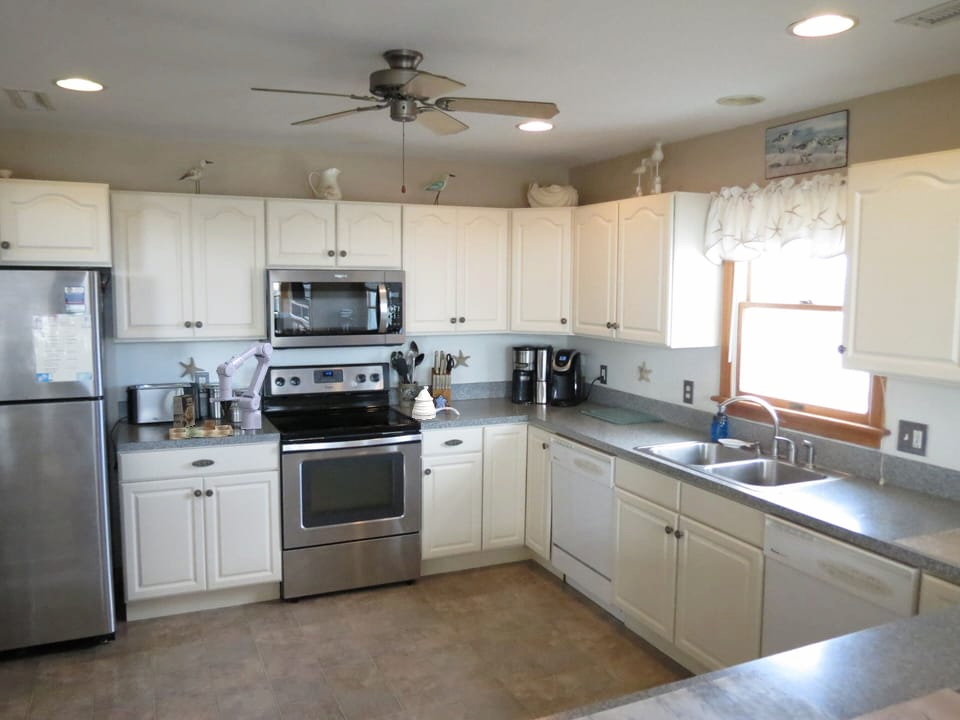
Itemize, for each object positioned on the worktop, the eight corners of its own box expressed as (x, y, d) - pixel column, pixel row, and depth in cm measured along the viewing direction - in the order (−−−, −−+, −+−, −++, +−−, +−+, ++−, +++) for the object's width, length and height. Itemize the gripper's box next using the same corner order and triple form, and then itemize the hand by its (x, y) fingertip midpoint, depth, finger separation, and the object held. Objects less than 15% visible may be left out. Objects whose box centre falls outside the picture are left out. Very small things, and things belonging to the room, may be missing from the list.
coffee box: (184, 429, 365) (184, 397, 363) (173, 428, 366) (172, 396, 365) (195, 425, 374) (194, 394, 372) (184, 425, 375) (183, 393, 373)
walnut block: (214, 427, 358) (214, 419, 358) (215, 429, 354) (215, 421, 353) (204, 428, 356) (204, 420, 356) (205, 430, 352) (205, 422, 352)
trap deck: (230, 430, 366) (230, 425, 365) (233, 435, 353) (233, 430, 353) (169, 433, 355) (169, 428, 354) (169, 439, 342) (169, 434, 342)
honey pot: (419, 416, 411) (419, 384, 409) (439, 418, 405) (440, 386, 403) (407, 420, 399) (408, 387, 397) (428, 422, 394) (428, 389, 392)
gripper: (210, 390, 349) (210, 418, 351) (242, 389, 355) (242, 417, 357) (209, 388, 356) (209, 416, 357) (240, 387, 361) (241, 414, 363)
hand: (226, 416), depth 357 cm, fingers closed
